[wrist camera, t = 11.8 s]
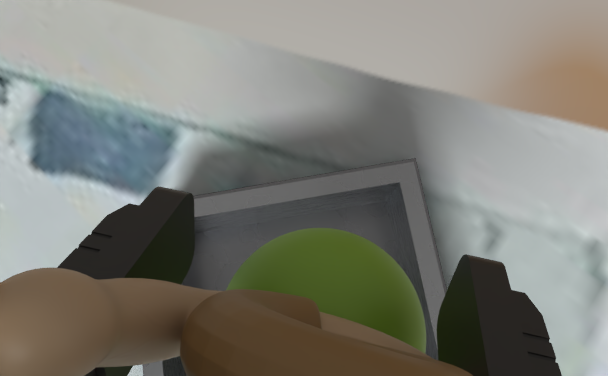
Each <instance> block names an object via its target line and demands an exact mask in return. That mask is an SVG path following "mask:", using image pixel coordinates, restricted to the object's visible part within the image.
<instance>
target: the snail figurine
mask: <svg viewBox="0 0 608 376" xmlns="http://www.w3.org/2000/svg"><path fill="white" fill-rule="evenodd" d="M425 352H426V327H425V320H424V315H423V310H422V307H421V304H420V301H419V298H418V295H417V293H416V291H415V289H414V287H413V285H412V283H411V281H410V280H409V278H408V276H407V275H406V273H405V272H404V271H403V269H402V268H401V267H400V266H399V264H398V263H397V262H396V261H395V260H394V259H393V258H392V257H391V256H390V255H389V254H388V253H386V252H385V251H384V250H383V249H381V248H380V247H379V246H377V245H376V244H374V243H372V242H371V241H369V240H367V239H365V238H363V237H361V236H359V235H356V234H353V233H350V232H347V231H343V230H338V229H331V228H308V229H302V230H297V231H293V232H290V233H287V234H284V235H281V236H279V237H277V238H275V239H273V240H271V241H269V242H268V243H266V244H265V245H263V246H262V247H260V248H259V249H258V250H256V251H255V252H254V253H253V254H252V255H251V256H250V257H249V258H248V259H247V260H246V261H245V262H244V263H243V264H242V265H241V266H240V268H239V269H238V270H237V272H236V273H235V275H234V276H233V278H232V279H231V281H230V283H229V285H228V287H227V289H226V291H214V290H205V289H199V288H194V287H189V286H184V285H180V284H176V283H172V282H168V281H162V280H155V279H145V278H115V279H102V280H96V279H93V278H91V277H89V276H87V275H85V274H82V273H80V272H77V271H73V270H69V269H63V268H40V269H34V270H29V271H25V272H22V273H19V274H17V275H14V276H12V277H10V278H8V279H6V280H5V281H3V282H1V283H0V376H84V375H86V374H88V373H89V372H91V371H92V370H93V369H95V368H96V367H120V366H133V365H141V364H148V363H154V362H158V361H163V360H166V359H170V358H173V357H179V356H180V357H181V361H182V364H183V367H184V370H185V373H186V375H187V376H473V375H472V374H470V373H469V372H467V371H465V370H463V369H461V368H459V367H456V366H454V365H451V364H448V363H445V362H442V361H438V360H435V359H433V358H431V357H430V356H428V355H426V354H425Z"/></svg>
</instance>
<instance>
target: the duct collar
mask: <svg viewBox="0 0 608 376" xmlns="http://www.w3.org/2000/svg"><path fill="white" fill-rule="evenodd" d="M193 197H194V219H195V250H194V256H193V260H192V264H191V266H190V269H189V271H188V273H187V275H186V277H185V279H184V280H183V282H182V284H181V285H184V286H189V287H194V288H199V289H205V290H214V291H226V289H227V287H228V285H229V283H230V281H231V279H232V278H233V276H234V275H235V273H236V272H237V270H238V269H239V268H240V266H241V265H242V264H243V263H244V262H245V261H246V260H247V259H248V258H249V257H250V256H251V255H252V254H253V253H254V252H255V251H256V250H258V249H259V248H260V247H262V246H263V245H265V244H266V243H268V242H269V241H271V240H273V239H275V238H277V237H279V236H281V235H284V234H287V233H290V232H293V231H297V230H302V229H308V228H331V229H338V230H343V231H347V232H350V233H353V234H356V235H359V236H361V237H363V238H365V239H367V240H369V241H371V242H372V243H374V244H376V245H377V246H379V247H380V248H381V249H383V250H384V251H385V252H386V253H388V254H389V255H390V256H391V257H392V258H393V259H394V260H395V261H396V262H397V263H398V264H399V266H400V267H401V268H402V269H403V271H404V272H405V273H406V275H407V276H408V278H409V280H410V281H411V283H412V285H413V287H414V289H415V291H416V293H417V295H418V298H419V301H420V304H421V307H422V310H423V315H424V320H425V327H426V352H425V354H426V355H428V356H430V357H431V358H433V359H435V360H438V347H437V320H438V314H439V310H440V307H441V304H442V301H443V299H444V297H445V294H446V292H447V289H446V285H445V281H444V277H443V272H442V268H441V264H440V260H439V255H438V251H437V247H436V243H435V239H434V234H433V230H432V226H431V222H430V217H429V213H428V209H427V205H426V201H425V196H424V192H423V188H422V184H421V179H420V175H419V171H418V167H417V162H416V158H414V159H408V160H402V161H396V162H390V163H384V164H379V165H373V166H367V167H361V168H355V169H349V170H343V171H338V172H332V173H326V174H320V175H314V176H308V177H302V178H296V179H291V180H285V181H279V182H273V183H267V184H261V185H255V186H250V187H244V188H238V189H232V190H226V191H220V192H214V193H209V194H203V195H197V196H193ZM138 206H140V205H138ZM143 376H187V375H186V373H185V370H184V367H183V364H182V361H181V357H180V356H179V357H173V358H170V359H166V360H163V361H158V362H154V363H148V364H143Z"/></svg>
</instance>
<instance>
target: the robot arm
mask: <svg viewBox="0 0 608 376" xmlns="http://www.w3.org/2000/svg"><path fill="white" fill-rule="evenodd" d="M194 250H195V219H194V197H193V195H192V194H191V193H186V192H182V191H177V190H173V189H168V188H163V187H156V188H155V189H154V190H153V191H152V192H151V193H150V194H149V195H148V197H147V198H146V199H145V200H144V201H143V202H142V203H141V205H140V206H138V205H133V204H128V205H126V206H124V207H122V208H120V209H118V210H116V211H114V212H113V213H111V214H109V215H107V216H106V217H105V218H104V219H103V220H102V221H101V222H100V223H99V224H98V226H97V227H96V228H95V229H94V230H93V231H92V234H91V235H88V236H87V237H86V238H85V239H84V240H83V241H82V242H81V243H80V244H79V248H78V249H77V248H76V249H75V250H74V251H73V252H72V253H71V254H70V255H69V256H68V257H67V258H66V259H65V260H64V261H63V262H62V263H61V264H60V265H59V266H58V267H57V268H63V269H69V270H73V271H77V272H80V273H82V274H85V275H87V276H89V277H91V278H93V279H96V280H102V279H115V278H145V279H155V280H162V281H168V282H172V283H176V284H180V285H181V284H182V282H183V280H184V279H185V277H186V275H187V273H188V271H189V269H190V266H191V264H192V260H193V256H194ZM549 339H550V338H549V335H548V332H547V329H546V326H545V323H544V319H543V316H542V314H541V313H540V312H539V311H538V309H537V308H536V307H535V305H534V304H533V303H532V301H531V300H530V299H529V298H528V296H527V295H526V294H525V293H522V292H518V291H513V290H511V288H510V284H509V280H508V276H507V273H506V269H505V266H504V264H503V263H502V262H498V261H493V260H489V259H484V258H480V257H475V256H471V255H466V254H465V255H463V256H462V258H461V259H460V261H459V264H458V266H457V268H456V271H455V273H454V275H453V278H452V280H451V282H450V285H449V287H448V290H447V292H446V294H445V297H444V299H443V301H442V304H441V307H440V310H439V314H438V320H437V347H438V361H442V362H445V363H448V364H451V365H454V366H456V367H459V368H461V369H463V370H465V371H467V372H469V373H470V374H472V375H473V376H562V375H561V372H560V369H559V366H558V363H556V362H555V359H556V357H555V353H554V350H553V347H552V344H551V343H549ZM132 367H133V366H120V367H96V368H95V369H93V370H92V371H91V372H89V373H88V374H86V375H84V376H127V375H128V373H129V372H130V370H131V368H132Z"/></svg>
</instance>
